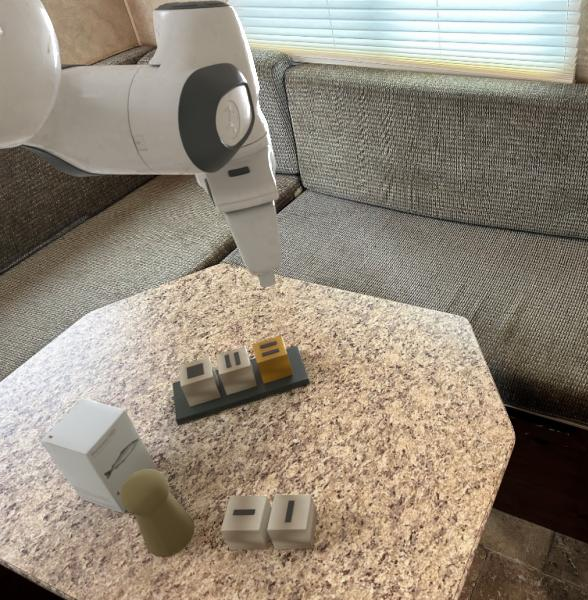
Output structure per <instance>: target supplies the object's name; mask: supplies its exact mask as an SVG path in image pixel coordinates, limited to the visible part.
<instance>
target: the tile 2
mask: <svg viewBox="0 0 588 600" xmlns="http://www.w3.org/2000/svg"><path fill="white" fill-rule="evenodd" d="M249 355H250V354H249V352H248V349H247V346H245V345H244V346H240V347H238V348H234V349H230V350H227V351H224V352H220V353H216V354H215V361H216V365H217V369H218V371H219V376H220V378H221V381H222V383H223V386H224V389H225V391H226V394H227V395H229V394H233V393H236V392H239V391H242V390H246V389H249V388H252V387H255V386H257V383H256V379H255V375H254V371H253V367H252V364H251V361H250V360H251V358H250V356H249Z"/></svg>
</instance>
